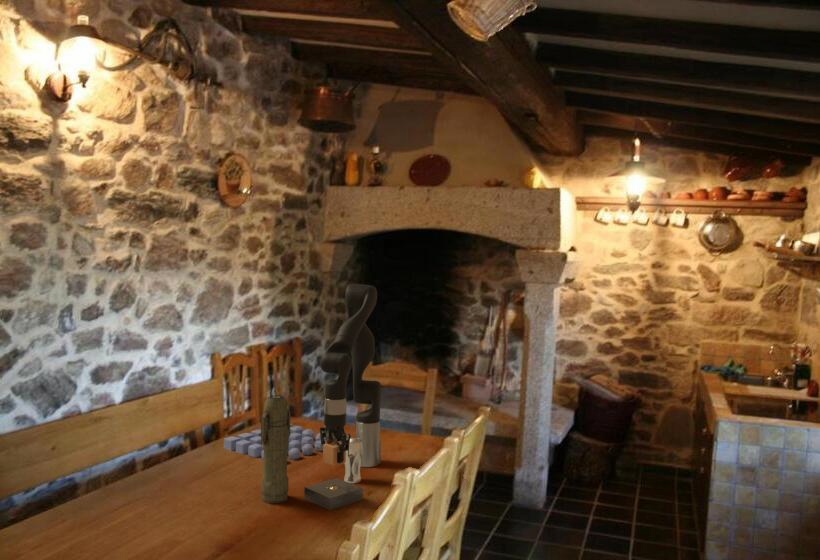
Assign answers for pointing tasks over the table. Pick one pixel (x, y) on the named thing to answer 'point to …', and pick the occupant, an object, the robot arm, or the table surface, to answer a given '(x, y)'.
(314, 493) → the plate
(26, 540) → the table surface
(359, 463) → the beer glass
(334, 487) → the pin
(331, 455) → the light brown cube
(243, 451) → the blocks
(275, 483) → the green stone statue
